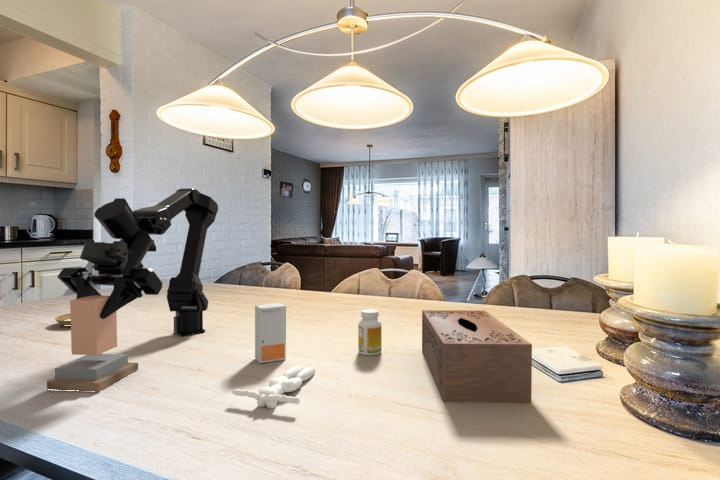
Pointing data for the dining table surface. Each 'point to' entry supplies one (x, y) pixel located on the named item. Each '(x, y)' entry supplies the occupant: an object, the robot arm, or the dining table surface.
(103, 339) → the terracotta block
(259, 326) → the skincare box
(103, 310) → the robot arm
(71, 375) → the tower top slab
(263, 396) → the decorative figure
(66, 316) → the plant saucer
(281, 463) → the dining table surface
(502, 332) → the tissue box cover
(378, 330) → the supplement bottle
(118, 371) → the tower base slab
